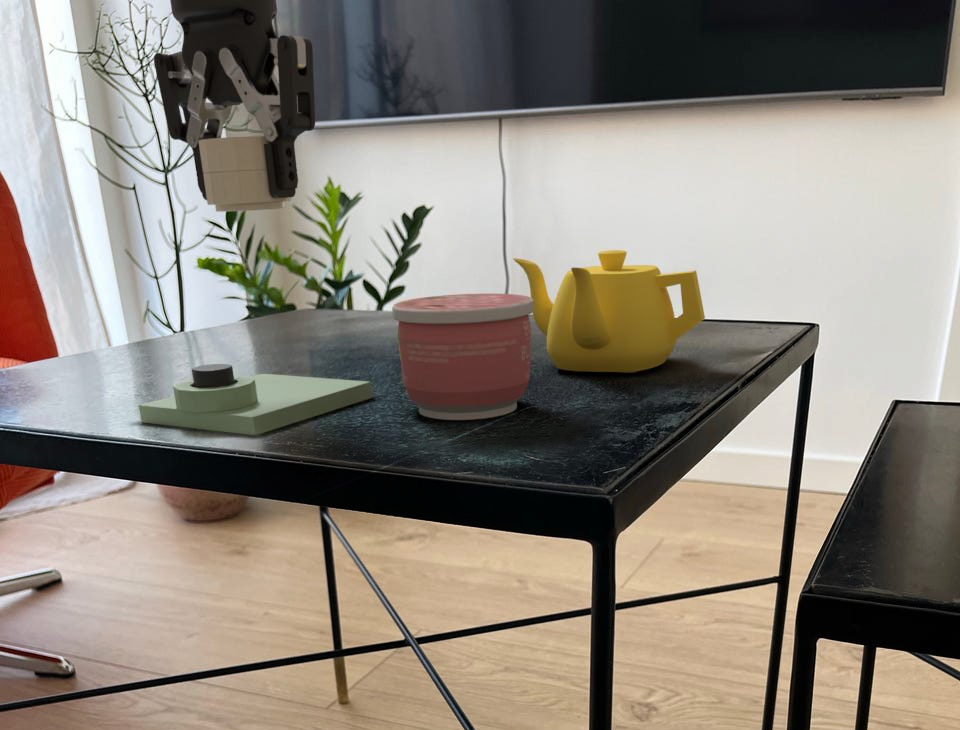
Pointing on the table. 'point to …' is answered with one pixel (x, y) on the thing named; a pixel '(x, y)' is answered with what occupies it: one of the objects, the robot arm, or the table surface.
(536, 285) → the teapot
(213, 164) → the cream cup
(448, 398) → the container
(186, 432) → the table surface
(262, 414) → the scale
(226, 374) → the button
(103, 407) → the table surface
